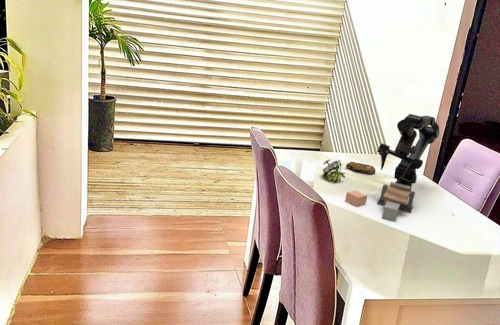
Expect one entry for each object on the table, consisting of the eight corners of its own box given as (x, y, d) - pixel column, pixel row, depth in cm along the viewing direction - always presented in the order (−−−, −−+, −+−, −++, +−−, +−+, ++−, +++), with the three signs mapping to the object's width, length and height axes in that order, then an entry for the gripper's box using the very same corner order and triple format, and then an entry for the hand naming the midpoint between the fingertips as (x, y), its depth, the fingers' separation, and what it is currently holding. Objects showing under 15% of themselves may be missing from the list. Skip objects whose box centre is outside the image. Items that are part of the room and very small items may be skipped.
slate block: (387, 200, 188) (384, 206, 180) (400, 204, 186) (397, 210, 179) (384, 212, 189) (381, 218, 182) (397, 215, 187) (394, 222, 180)
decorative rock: (346, 172, 236) (375, 178, 235) (348, 165, 235) (377, 170, 234) (344, 165, 247) (372, 170, 246) (346, 158, 245) (374, 163, 245)
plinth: (354, 199, 198) (356, 190, 197) (365, 204, 194) (367, 195, 193) (345, 201, 195) (346, 192, 194) (356, 206, 190) (358, 197, 189)
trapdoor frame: (379, 199, 202) (383, 182, 200) (413, 208, 197) (417, 190, 195) (376, 204, 196) (380, 186, 194) (411, 213, 191) (415, 195, 189)
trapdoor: (388, 186, 199) (389, 181, 198) (410, 191, 195) (411, 186, 194) (382, 200, 189) (383, 195, 187) (405, 206, 185) (406, 201, 184)
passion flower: (322, 187, 225) (323, 163, 229) (345, 187, 222) (346, 164, 226) (320, 180, 215) (321, 155, 219) (344, 180, 212) (345, 155, 216)
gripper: (389, 127, 193) (374, 160, 190) (432, 145, 190) (417, 179, 187) (384, 134, 204) (369, 166, 201) (425, 152, 200) (411, 184, 198)
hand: (391, 174), depth 197 cm, fingers open, 9 cm apart
